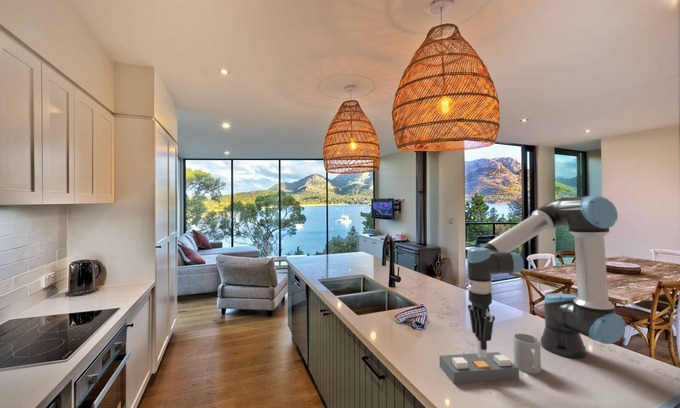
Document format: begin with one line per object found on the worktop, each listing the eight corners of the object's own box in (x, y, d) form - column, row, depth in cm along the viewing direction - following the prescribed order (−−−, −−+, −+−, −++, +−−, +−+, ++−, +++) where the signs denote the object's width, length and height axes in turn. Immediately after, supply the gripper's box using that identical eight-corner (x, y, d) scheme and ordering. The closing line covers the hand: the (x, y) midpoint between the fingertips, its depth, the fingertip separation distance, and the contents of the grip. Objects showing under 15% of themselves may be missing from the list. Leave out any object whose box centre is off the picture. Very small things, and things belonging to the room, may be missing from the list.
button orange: (483, 369, 102) (483, 360, 102) (489, 375, 99) (489, 366, 99) (473, 370, 102) (473, 361, 102) (479, 376, 98) (478, 367, 98)
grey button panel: (498, 362, 109) (498, 346, 109) (519, 379, 98) (518, 361, 98) (439, 366, 107) (439, 349, 107) (453, 384, 96) (453, 365, 96)
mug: (510, 360, 111) (509, 332, 111) (534, 362, 109) (533, 334, 109) (523, 378, 99) (523, 347, 99) (550, 381, 97) (550, 349, 97)
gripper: (460, 286, 107) (462, 348, 106) (480, 297, 94) (483, 367, 93) (479, 285, 108) (481, 347, 107) (501, 296, 95) (504, 366, 94)
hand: (482, 356), depth 100 cm, fingers closed
